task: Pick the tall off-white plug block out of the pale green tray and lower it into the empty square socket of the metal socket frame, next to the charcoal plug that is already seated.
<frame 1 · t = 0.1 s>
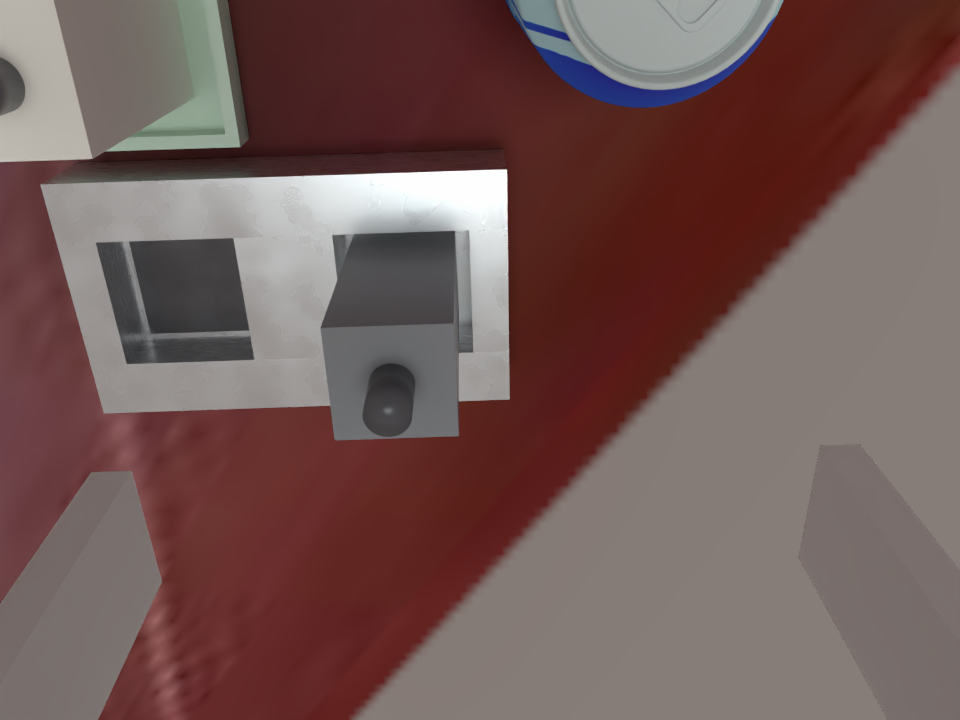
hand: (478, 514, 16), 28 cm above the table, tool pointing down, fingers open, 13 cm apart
plug: (129, 42, 37), point 1 cm above the table, touching tray
tray: (133, 41, 38), on the table
twin plug: (408, 271, 42), point 1 cm above the table, touching metal socket frame
metal socket frame: (305, 269, 43), on the table
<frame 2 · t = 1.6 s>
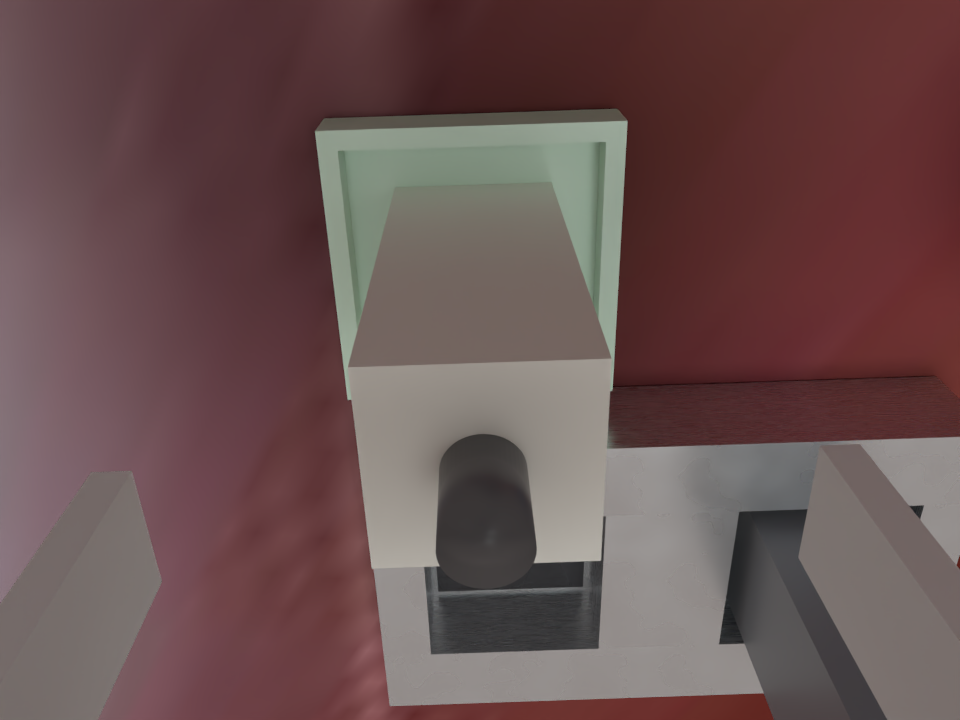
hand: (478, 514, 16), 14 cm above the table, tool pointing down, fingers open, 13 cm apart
plug: (475, 258, 27), point 1 cm above the table, touching tray
tray: (475, 252, 28), on the table
twin plug: (785, 521, 32), point 1 cm above the table, touching metal socket frame
metal socket frame: (643, 513, 33), on the table
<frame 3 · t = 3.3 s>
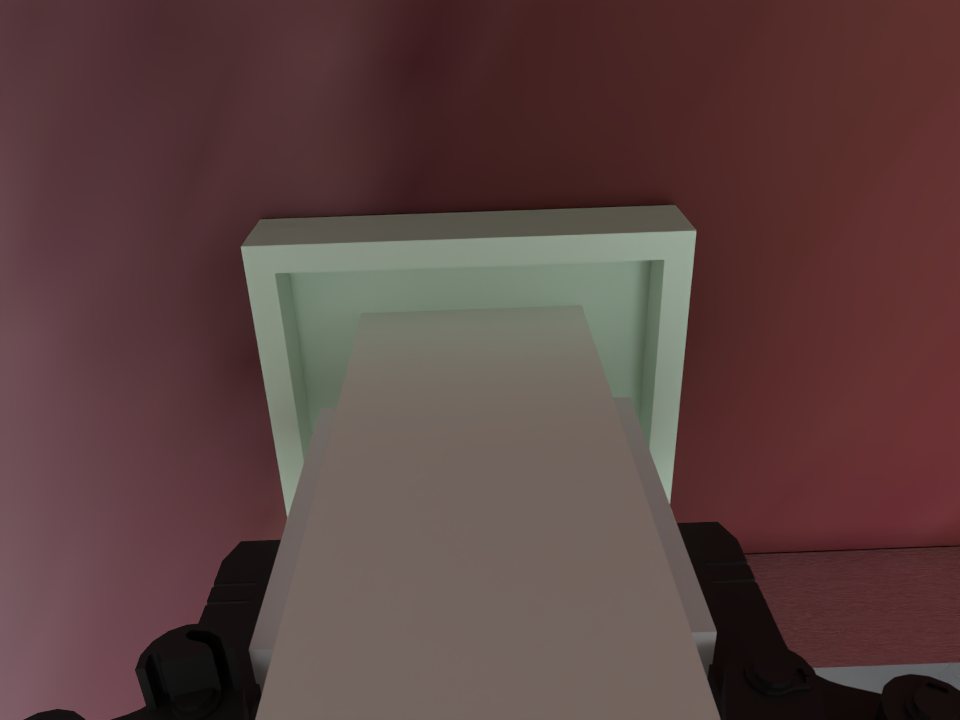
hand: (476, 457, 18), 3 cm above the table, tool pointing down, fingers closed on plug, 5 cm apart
plug: (475, 404, 20), point 1 cm above the table, touching gripper, tray
tray: (474, 392, 20), on the table
metal socket frame: (694, 705, 25), on the table
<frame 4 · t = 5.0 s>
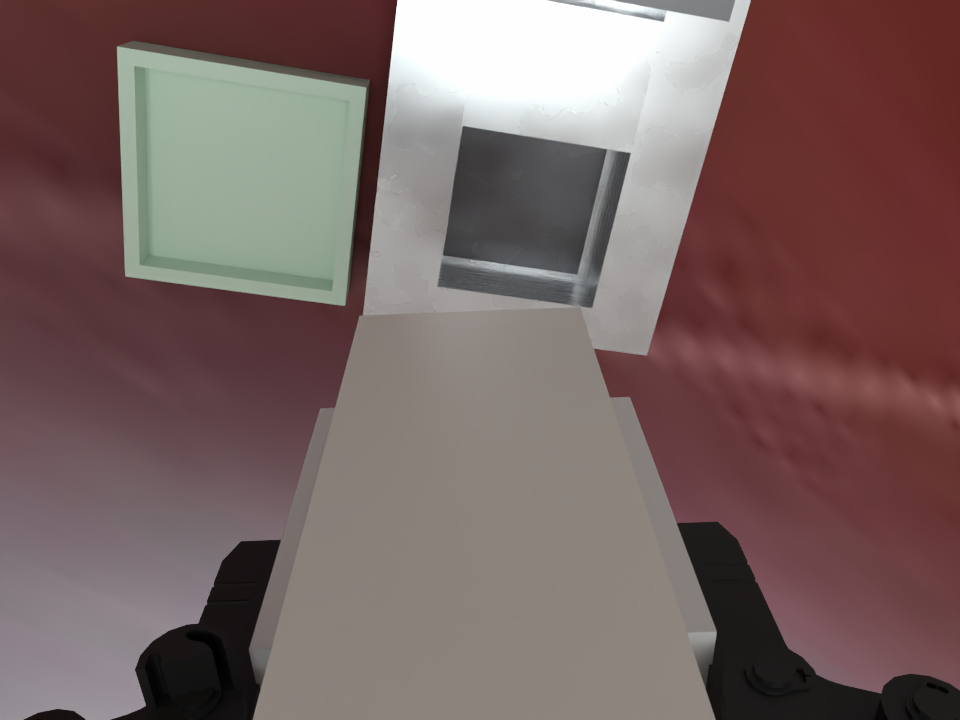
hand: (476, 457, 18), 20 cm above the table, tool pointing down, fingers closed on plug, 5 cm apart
plug: (473, 406, 20), point 17 cm above the table, touching gripper
tray: (249, 174, 34), on the table
metal socket frame: (547, 59, 33), on the table
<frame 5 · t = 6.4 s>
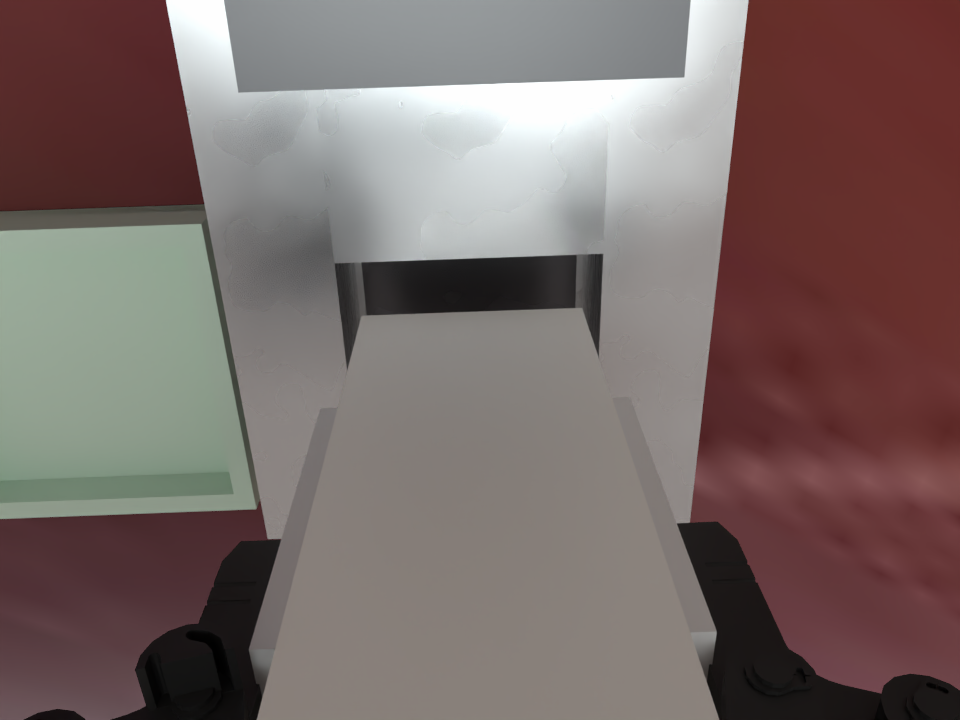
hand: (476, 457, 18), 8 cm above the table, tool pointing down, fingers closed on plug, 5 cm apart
plug: (475, 406, 20), point 5 cm above the table, touching gripper
tray: (94, 356, 25), on the table
metal socket frame: (464, 125, 22), on the table
when the fingers open (5 cm above the table, at t = 7.1 s): plug drops 2 cm, resting on metal socket frame.
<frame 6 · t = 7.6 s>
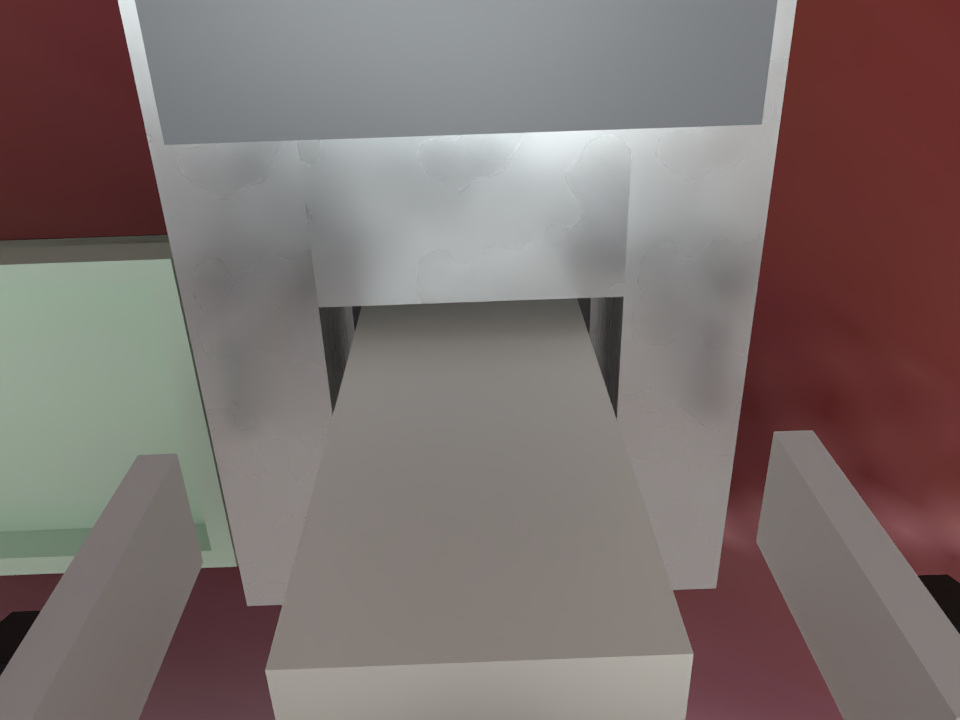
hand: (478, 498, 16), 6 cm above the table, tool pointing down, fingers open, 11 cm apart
plug: (472, 369, 21), point 1 cm above the table, touching metal socket frame
tray: (58, 399, 22), on the table
metal socket frame: (465, 148, 20), on the table
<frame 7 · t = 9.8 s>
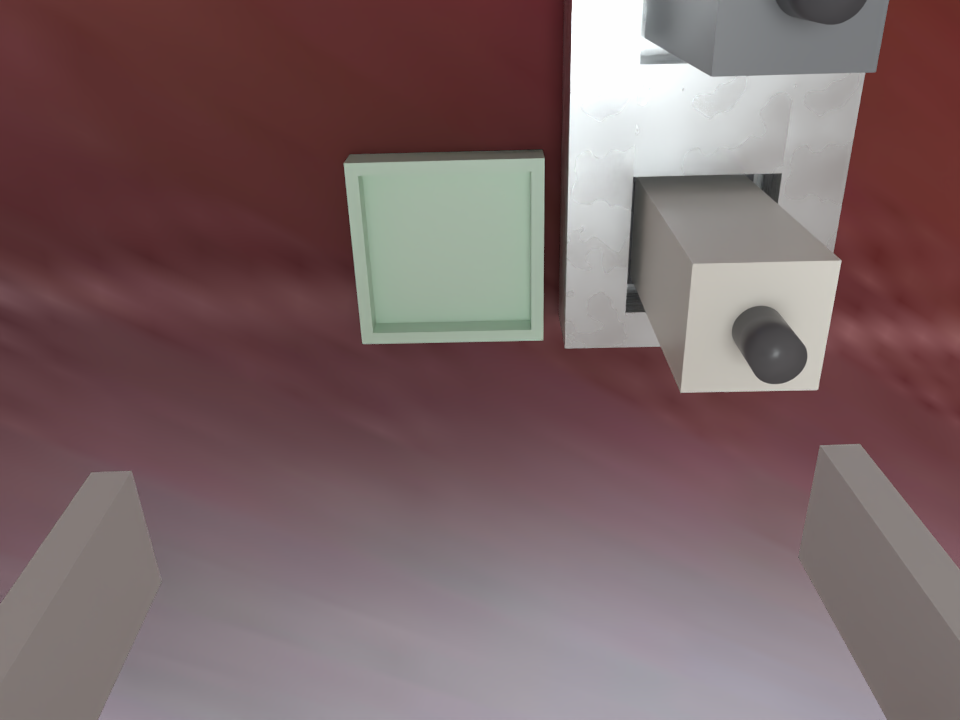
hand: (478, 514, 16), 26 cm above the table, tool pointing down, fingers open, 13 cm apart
plug: (684, 225, 39), point 1 cm above the table, touching metal socket frame
tray: (450, 244, 41), on the table
metal socket frame: (691, 104, 38), on the table
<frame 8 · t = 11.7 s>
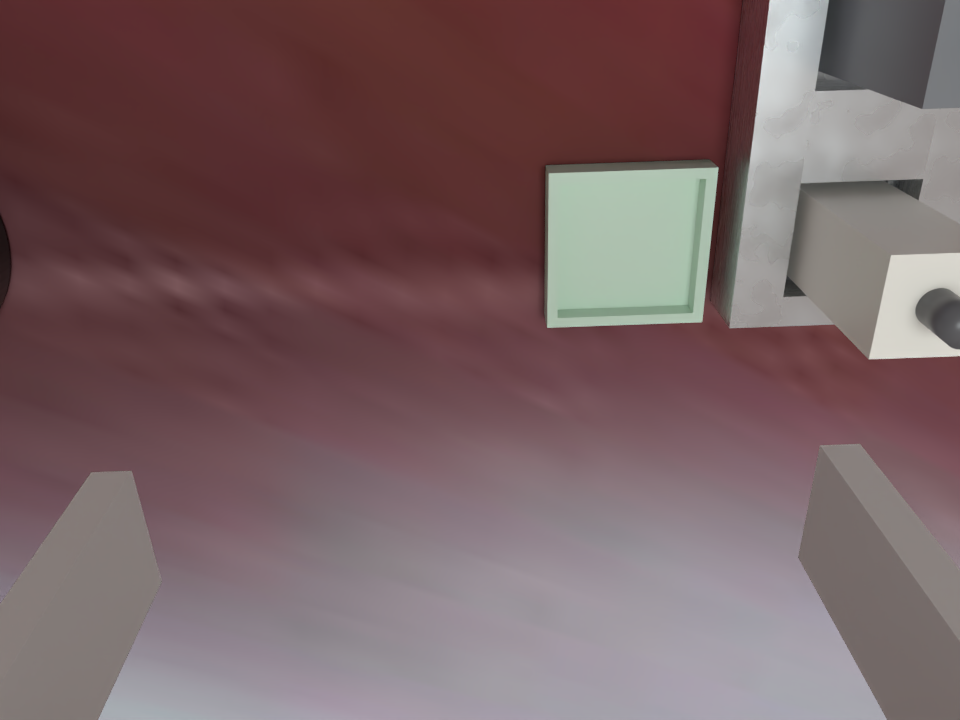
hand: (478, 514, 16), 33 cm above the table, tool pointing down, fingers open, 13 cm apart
plug: (826, 222, 47), point 1 cm above the table, touching metal socket frame
tray: (623, 240, 48), on the table
twin plug: (863, 13, 42), point 1 cm above the table, touching metal socket frame
metal socket frame: (837, 120, 45), on the table
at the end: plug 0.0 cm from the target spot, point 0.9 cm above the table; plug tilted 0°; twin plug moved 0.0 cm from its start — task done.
